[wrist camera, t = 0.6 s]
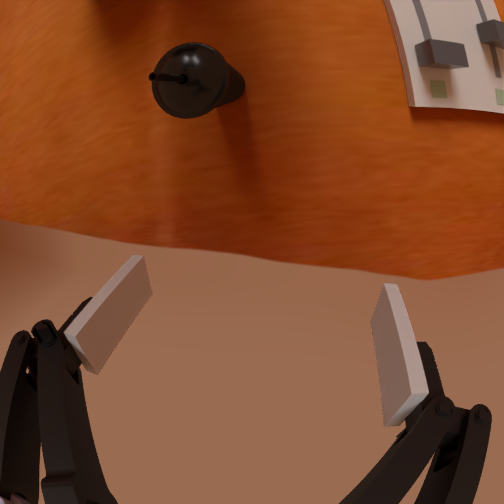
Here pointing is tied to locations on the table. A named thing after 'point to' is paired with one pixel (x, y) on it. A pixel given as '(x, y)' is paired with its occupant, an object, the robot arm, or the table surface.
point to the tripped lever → (491, 33)
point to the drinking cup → (194, 81)
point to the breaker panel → (453, 30)
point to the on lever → (441, 54)
